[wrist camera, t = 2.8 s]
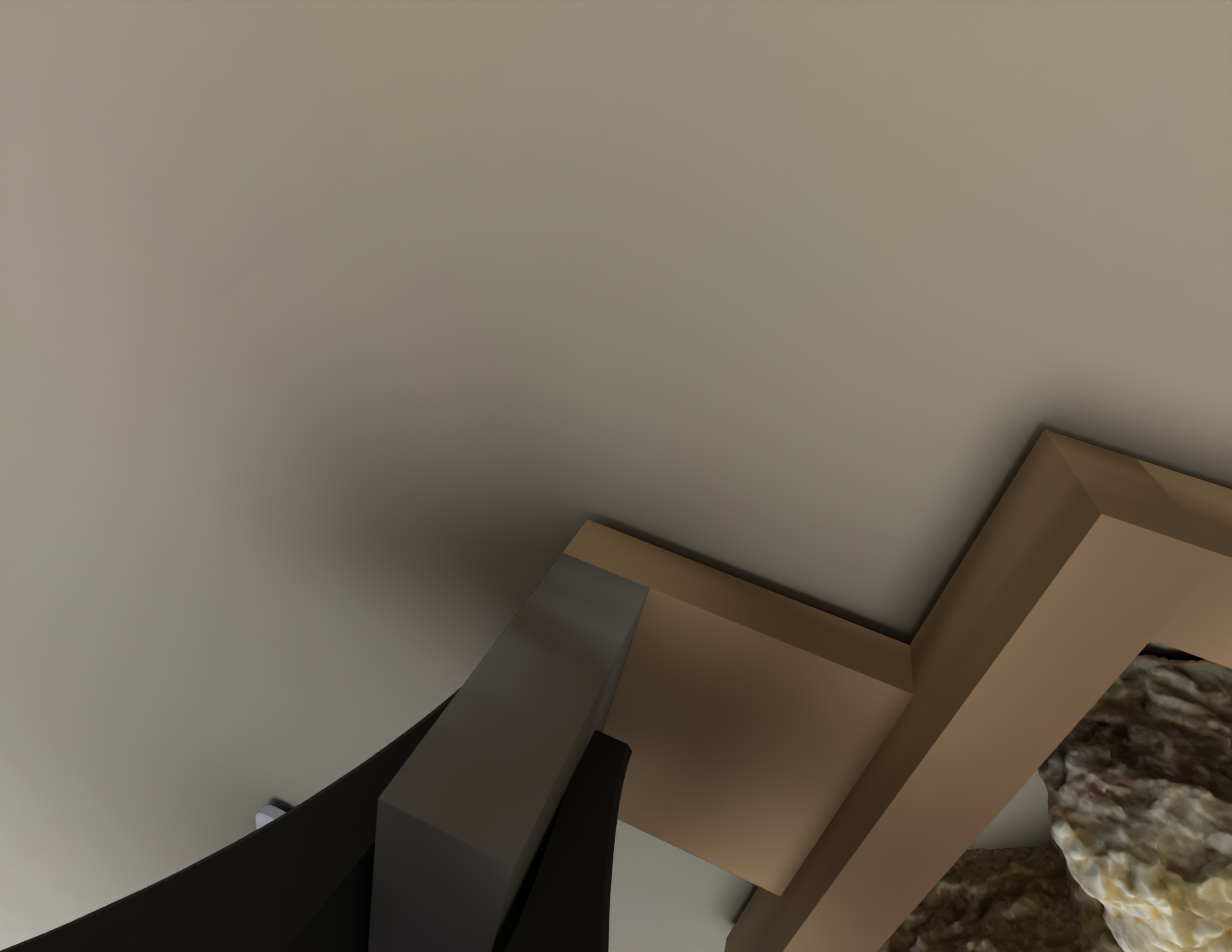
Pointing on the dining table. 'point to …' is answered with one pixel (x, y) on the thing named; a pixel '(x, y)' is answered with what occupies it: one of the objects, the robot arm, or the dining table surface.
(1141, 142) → the dining table surface
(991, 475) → the dining table surface
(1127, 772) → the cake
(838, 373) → the dining table surface
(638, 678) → the pull frame
